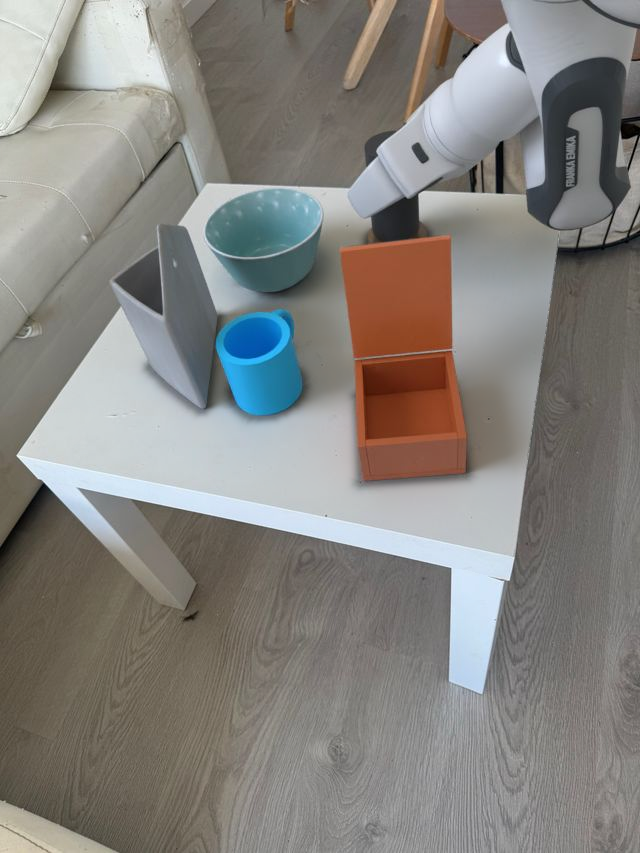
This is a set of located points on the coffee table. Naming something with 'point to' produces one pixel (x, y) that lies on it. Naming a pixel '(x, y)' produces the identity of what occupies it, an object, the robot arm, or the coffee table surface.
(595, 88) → the robot arm
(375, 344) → the orange box lid
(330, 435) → the coffee table surface
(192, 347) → the planter
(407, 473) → the orange open box
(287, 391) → the mug
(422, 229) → the trivet
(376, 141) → the tapered grey cylinder
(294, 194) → the bowl
